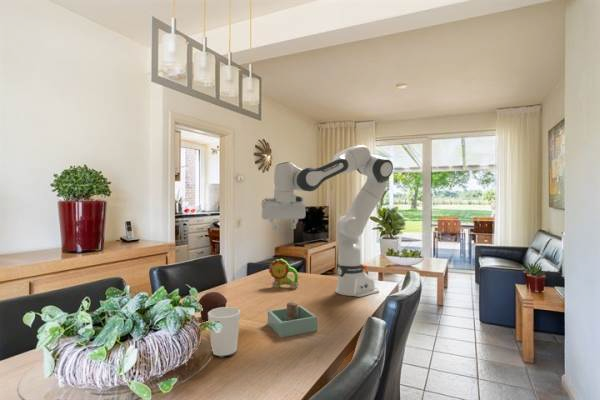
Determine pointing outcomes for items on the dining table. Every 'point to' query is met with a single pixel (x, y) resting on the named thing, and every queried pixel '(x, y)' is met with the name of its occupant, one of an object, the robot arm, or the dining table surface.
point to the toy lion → (283, 274)
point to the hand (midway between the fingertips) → (283, 229)
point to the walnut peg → (292, 311)
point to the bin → (292, 322)
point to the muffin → (211, 303)
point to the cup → (225, 330)
